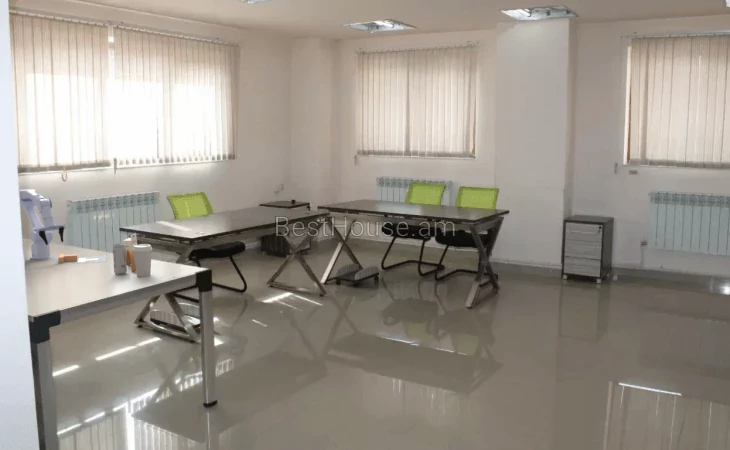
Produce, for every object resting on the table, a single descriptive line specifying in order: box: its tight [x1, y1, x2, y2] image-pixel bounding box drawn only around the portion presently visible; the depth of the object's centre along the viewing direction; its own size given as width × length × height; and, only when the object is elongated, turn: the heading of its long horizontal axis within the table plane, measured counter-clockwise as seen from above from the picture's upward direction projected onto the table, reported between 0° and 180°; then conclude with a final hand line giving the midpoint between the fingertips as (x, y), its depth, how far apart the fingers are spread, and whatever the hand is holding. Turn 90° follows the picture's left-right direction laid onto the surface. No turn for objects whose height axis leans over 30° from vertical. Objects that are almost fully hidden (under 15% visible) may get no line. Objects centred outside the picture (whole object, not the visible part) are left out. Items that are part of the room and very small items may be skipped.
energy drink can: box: [112, 242, 128, 276], centre depth 329 cm, size 6×6×15 cm
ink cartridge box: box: [122, 232, 138, 253], centre depth 362 cm, size 9×5×15 cm, turn 179°
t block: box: [58, 253, 78, 263], centre depth 358 cm, size 9×10×3 cm
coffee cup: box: [132, 243, 153, 278], centre depth 326 cm, size 10×10×15 cm
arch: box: [126, 249, 136, 273], centre depth 343 cm, size 6×20×10 cm, turn 27°
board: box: [52, 255, 107, 266], centre depth 360 cm, size 26×18×1 cm
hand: (54, 242), depth 352 cm, fingers open, 7 cm apart
